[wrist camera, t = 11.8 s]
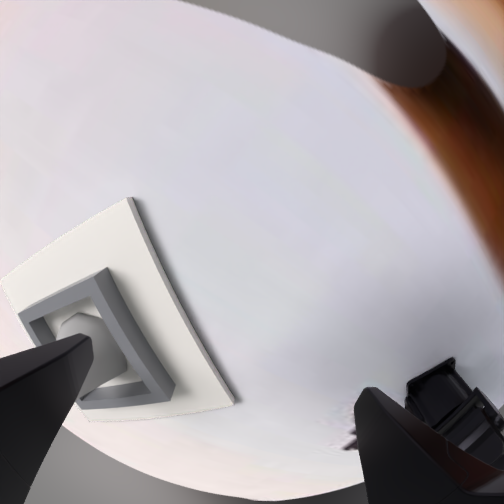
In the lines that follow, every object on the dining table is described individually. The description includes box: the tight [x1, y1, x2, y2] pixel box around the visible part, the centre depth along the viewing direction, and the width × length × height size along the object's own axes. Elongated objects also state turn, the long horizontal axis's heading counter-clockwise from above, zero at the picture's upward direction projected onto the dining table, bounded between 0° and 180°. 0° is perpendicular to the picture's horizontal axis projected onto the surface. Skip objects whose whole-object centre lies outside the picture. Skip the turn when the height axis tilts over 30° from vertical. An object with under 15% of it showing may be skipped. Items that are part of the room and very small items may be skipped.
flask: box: [56, 312, 127, 403], centre depth 17 cm, size 7×7×10 cm
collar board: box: [0, 197, 235, 422], centre depth 21 cm, size 20×20×3 cm
